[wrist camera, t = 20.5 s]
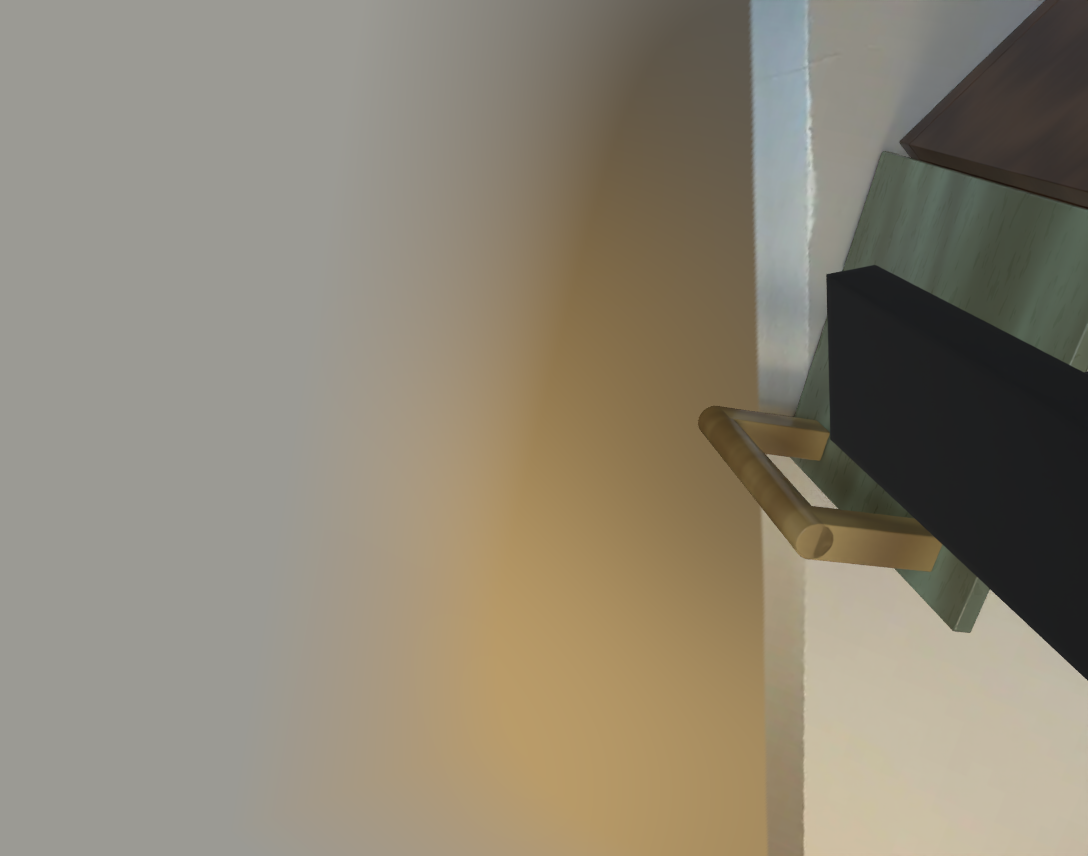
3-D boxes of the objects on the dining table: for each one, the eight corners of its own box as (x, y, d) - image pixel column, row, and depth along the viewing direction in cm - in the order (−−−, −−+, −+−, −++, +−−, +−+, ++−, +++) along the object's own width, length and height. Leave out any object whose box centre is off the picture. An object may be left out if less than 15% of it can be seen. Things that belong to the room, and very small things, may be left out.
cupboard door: (673, 435, 51) (806, 619, 36) (763, 124, 45) (965, 186, 30) (795, 451, 53) (970, 633, 38) (896, 153, 47) (1151, 227, 32)
